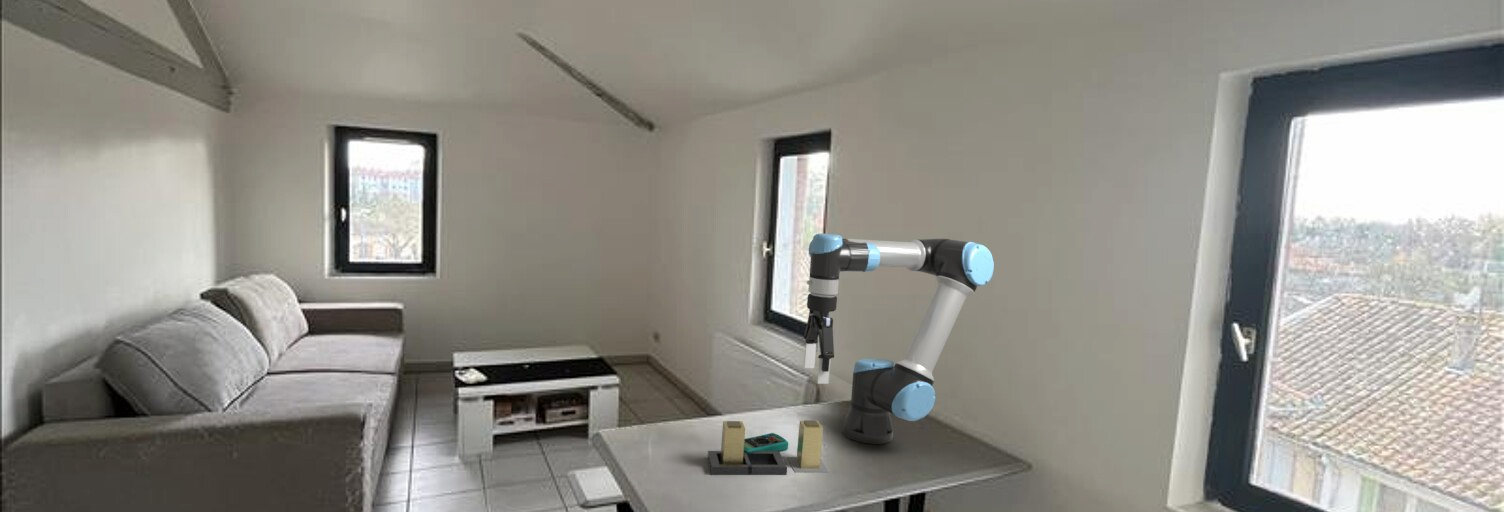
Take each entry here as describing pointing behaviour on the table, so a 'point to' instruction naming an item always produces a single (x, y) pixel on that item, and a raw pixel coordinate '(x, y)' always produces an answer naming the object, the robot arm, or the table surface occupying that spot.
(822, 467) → the mat
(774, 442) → the digital multimeter
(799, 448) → the tan rectangular block
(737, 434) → the gold rectangular block
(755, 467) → the dark grey block holder
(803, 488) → the table surface
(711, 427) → the table surface
